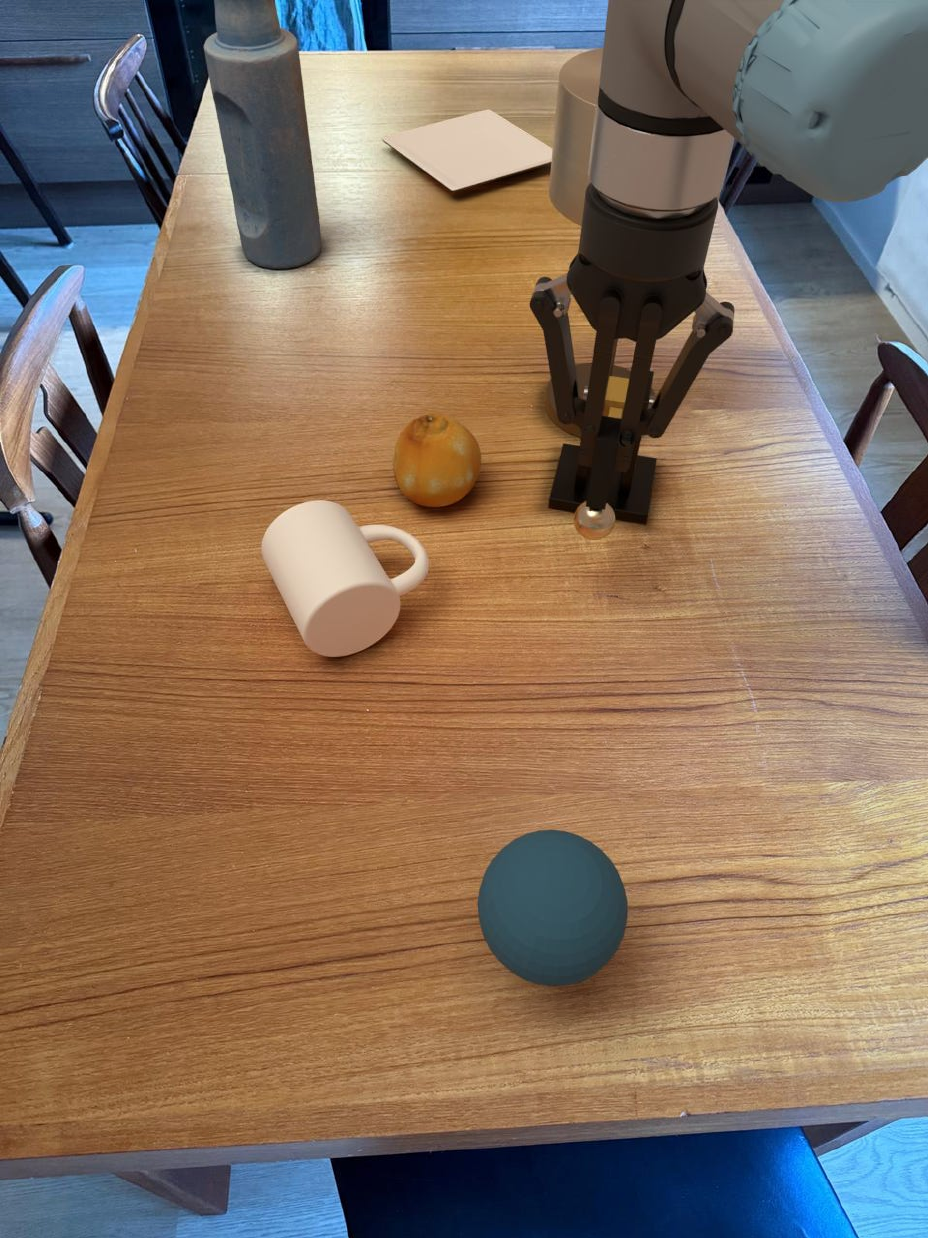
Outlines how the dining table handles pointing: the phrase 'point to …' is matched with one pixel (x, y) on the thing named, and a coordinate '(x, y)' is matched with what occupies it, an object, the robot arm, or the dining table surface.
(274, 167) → the bottle
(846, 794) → the dining table surface
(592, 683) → the dining table surface
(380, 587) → the mug
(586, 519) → the lamp switch
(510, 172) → the plate
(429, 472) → the fruit
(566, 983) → the dark teal ovoid
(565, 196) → the lamp
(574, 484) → the switch bracket
